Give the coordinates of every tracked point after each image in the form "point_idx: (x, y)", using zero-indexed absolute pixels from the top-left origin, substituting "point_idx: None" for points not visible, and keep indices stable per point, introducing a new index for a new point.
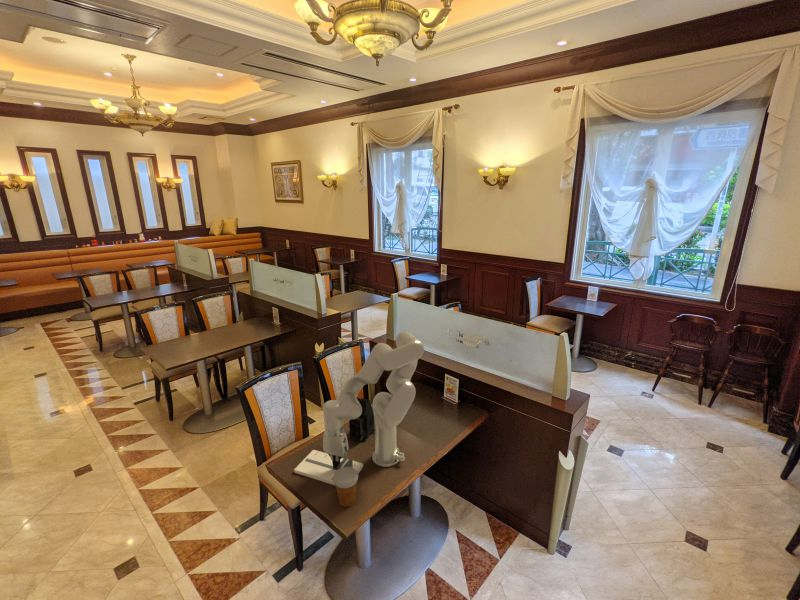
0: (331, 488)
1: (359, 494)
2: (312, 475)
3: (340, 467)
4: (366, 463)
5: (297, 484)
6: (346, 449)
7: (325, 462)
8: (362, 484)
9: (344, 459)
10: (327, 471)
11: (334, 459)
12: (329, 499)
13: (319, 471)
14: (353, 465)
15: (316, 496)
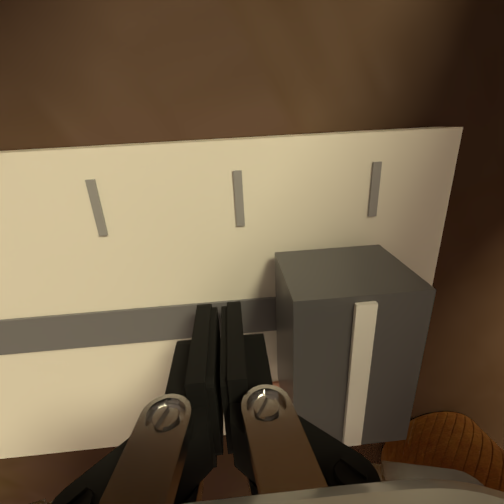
0: None
1: (490, 388)
2: (82, 449)
3: None
4: (456, 57)
5: (48, 491)
6: (475, 499)
7: (42, 295)
8: (489, 316)
9: (312, 325)
10: (162, 374)
11: (211, 452)
12: None
13: (97, 403)
14: (362, 203)
15: (235, 495)
